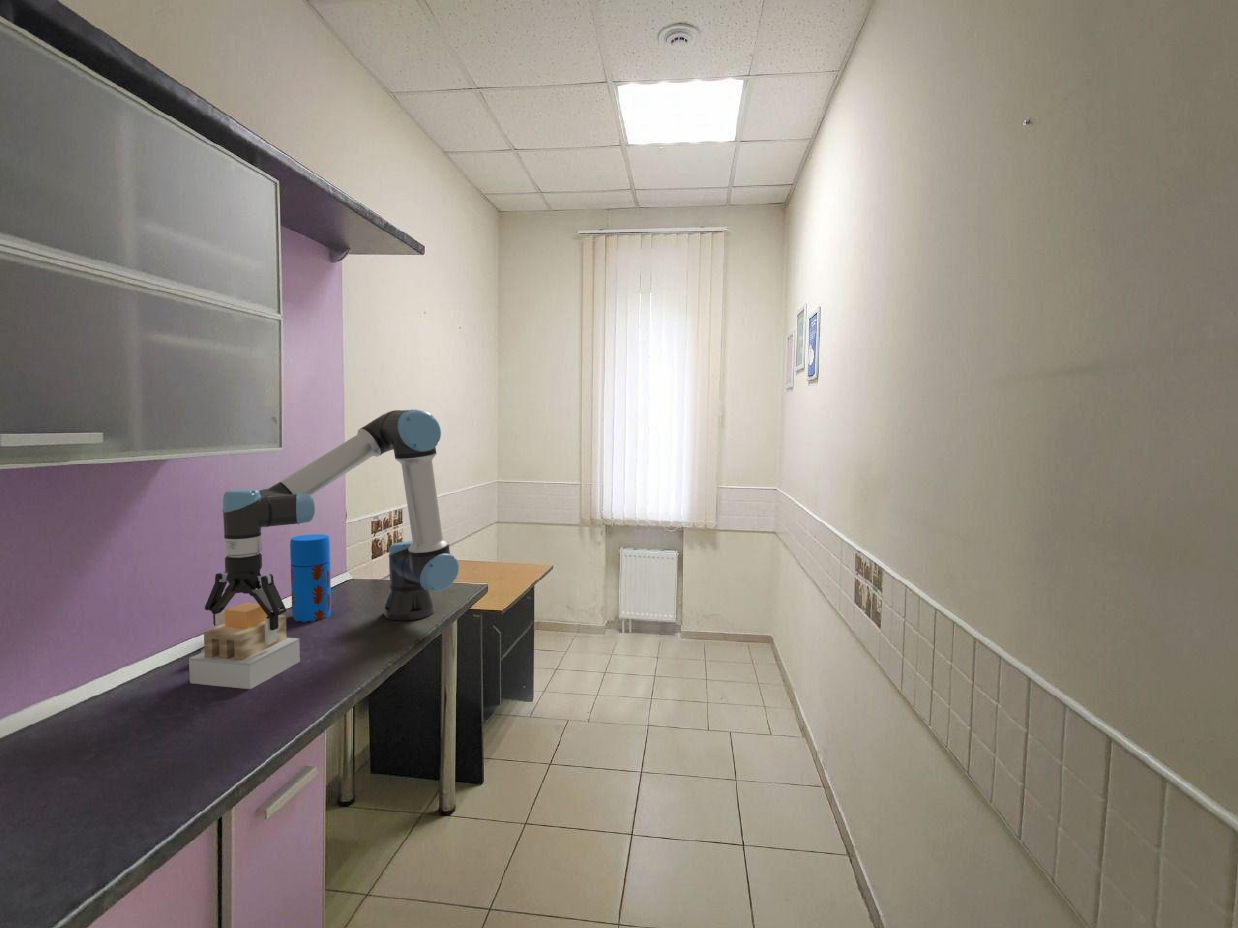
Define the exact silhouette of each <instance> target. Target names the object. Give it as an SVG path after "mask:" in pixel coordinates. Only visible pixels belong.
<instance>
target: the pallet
mask: <svg viewBox="0 0 1238 928" xmlns="http://www.w3.org/2000/svg"><path fill="white" fill-rule="evenodd" d="M278 624H279V627H278V629H276V633H277V641H275V642H273V643H271V644H269V645H266V644H265V621H264V622H262V623H259V624H257V625H255V626H252V627H250V628H248V629H247V628H235V627H225V624H222V625H220V626H217V627H215V626H214V627H213V628H210V629H207V630H205V631H203V643H204V644H203V645H204V649H205V657H210V658H213V657H215V656H217V655H219V654H220V658H221V659H228V658H231V657H233V656H235V660H244V659H246V658H248V657H250V656H253V655H255V654H257V653H259V652H261V651H263V650H265V649H267V648H269V647H271V646H273V645H275V644H277V643H279V642H281V641H283V640H285V639H287V638H288V637H287V635H288V634H287V633H288V632H287V615H284V614H280V615H279V616H278Z"/></svg>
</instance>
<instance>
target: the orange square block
mask: <svg viewBox="0 0 1238 928" xmlns="http://www.w3.org/2000/svg"><path fill="white" fill-rule="evenodd" d="M224 611H225V627H235V628H247V629H248V628H250V627H252V626H255V625H257V624H259V623H262V622H264V621H265V618H266V617H267V614H266V613H265V612H264V610H263V609H262V608H261V606H260V605H259V604H258V603H253V602H244V603H240V604H238V605H235V606H232V607H231V608H227V609H225V610H224Z"/></svg>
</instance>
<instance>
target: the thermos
mask: <svg viewBox="0 0 1238 928" xmlns="http://www.w3.org/2000/svg"><path fill="white" fill-rule="evenodd" d="M330 542H331V541H330V536H329V535H328V534H323V533H321V534H320V533H318V534H317V533H316V534H315V533H314V534H313V533H311V534H302V535H297V536H296V535H295V536H293V537H291V538H290V544H289V545H290V546H289V550H290V552H289V553H290V579H291V580H290V583H291V584H290V585H291V586H290V588H291V589H290V590H291V591H290V592H291V611H292V620H293V619H294V620H296V621H295V622H298V621H303V622H302V623H308V622H307V621H311V622H316V620H318V621H321V620H320V619H322V620H324V619H327V618H329V617H330V616H331V614H332V613H331V612H332V611H331V610H332V590H331V589H332V587H331V586H332V585H331V583H332V581H331V579H332V578H331V547H330V546H331V543H330Z"/></svg>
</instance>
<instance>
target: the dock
mask: <svg viewBox="0 0 1238 928" xmlns="http://www.w3.org/2000/svg"><path fill="white" fill-rule="evenodd" d="M300 653H301V651H300V638H298V637H297V638H296V637H287V639H285V640H283V641H281V642H279V643H277V644H275V645H273V646H271V647H269V648H267V649H265V650H263V651H261V652H259V653H257V654H255V655H253V656H250V657H248V658H246V659H244V660H235V656H233V657H231V658H228V659H221V658H220V654H219V655H217V656H215V657H213V658H210V657H205V651H204V652H202V653H201V652H199V653H197V654H194V655H192V656H190V657H188V665H189V666H188V667H189V668H188V670H189V684H193V685H194V684H195V685H203V686H204V685H205V686H214V687H225V688H233V689H235V688H236V689H245V690H252V689H254V688H256V687H257V686H258V685H261V684H263V683H264V682H266V681H268V680H270V679H272V678H274V677H275V676H277V675H279V674H281V673H283V672H285V671H286V670H287V669H289V668H291V667H294V666H295V665H297V664H298V663H300V662H301V654H300Z"/></svg>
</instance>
